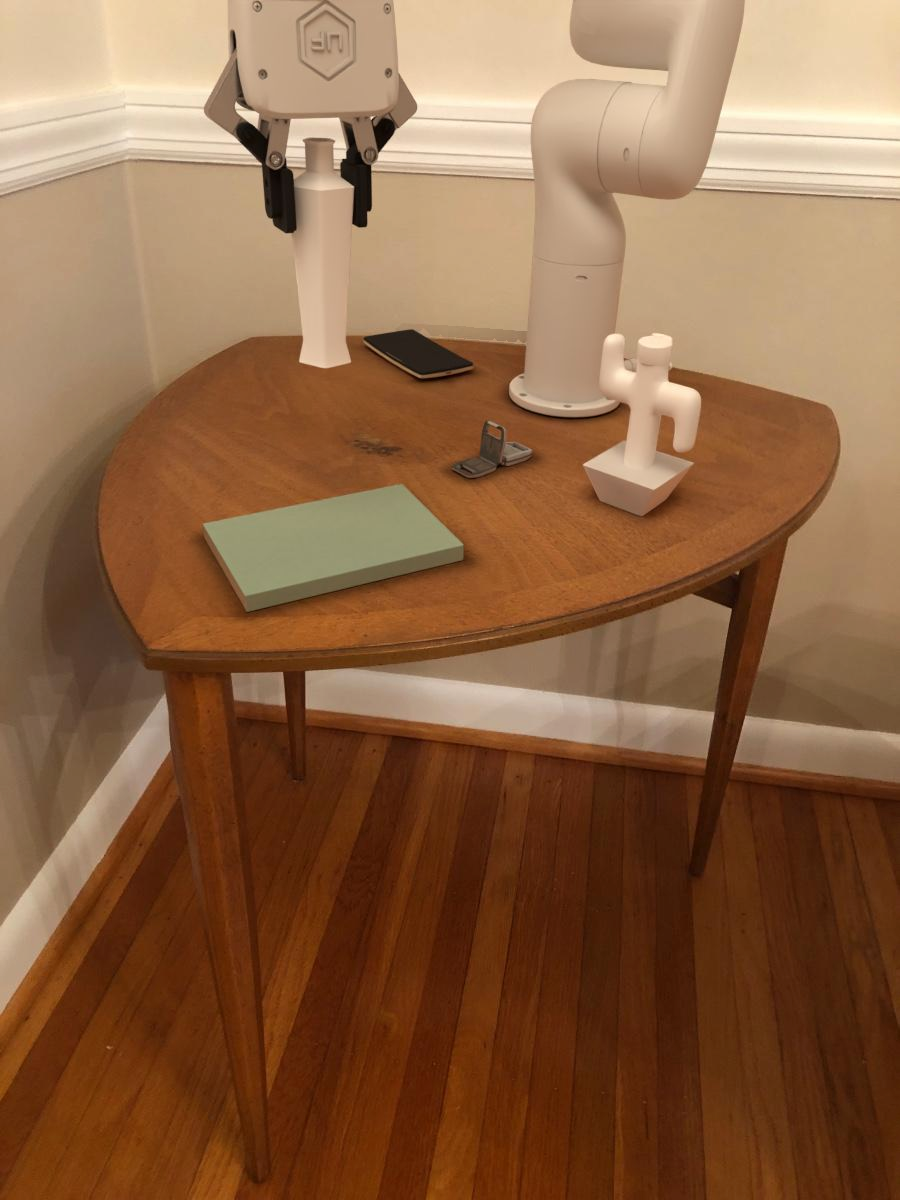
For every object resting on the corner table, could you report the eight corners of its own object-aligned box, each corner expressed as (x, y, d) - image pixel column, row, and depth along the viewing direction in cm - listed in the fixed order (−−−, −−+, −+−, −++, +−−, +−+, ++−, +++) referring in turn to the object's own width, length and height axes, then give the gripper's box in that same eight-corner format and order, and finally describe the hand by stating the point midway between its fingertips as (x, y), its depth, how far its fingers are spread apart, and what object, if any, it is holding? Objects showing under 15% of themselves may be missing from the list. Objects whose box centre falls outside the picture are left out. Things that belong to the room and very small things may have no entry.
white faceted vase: (346, 372, 69) (343, 146, 60) (289, 366, 69) (278, 141, 61) (364, 353, 72) (363, 138, 64) (309, 347, 73) (301, 133, 65)
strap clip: (514, 448, 95) (516, 408, 92) (534, 458, 93) (538, 417, 91) (448, 470, 90) (450, 428, 88) (469, 481, 88) (471, 438, 86)
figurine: (659, 532, 81) (688, 362, 73) (567, 497, 86) (585, 335, 78) (698, 503, 86) (729, 340, 77) (609, 472, 91) (630, 316, 82)
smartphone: (421, 373, 108) (361, 336, 119) (421, 382, 109) (361, 345, 119) (475, 363, 112) (412, 328, 122) (475, 372, 112) (412, 336, 123)
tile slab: (402, 498, 85) (402, 483, 84) (463, 560, 76) (464, 544, 75) (204, 538, 78) (202, 523, 77) (246, 612, 69) (244, 595, 68)
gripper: (175, -113, 49) (214, 248, 59) (461, -94, 56) (452, 228, 66) (145, -105, 55) (185, 224, 65) (408, -89, 62) (408, 208, 72)
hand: (320, 223), depth 65 cm, fingers closed on white faceted vase, 4 cm apart
